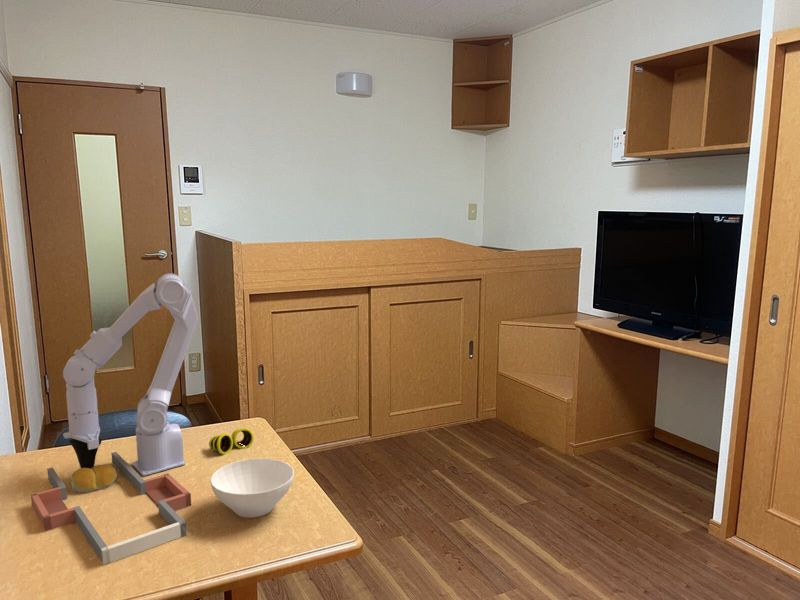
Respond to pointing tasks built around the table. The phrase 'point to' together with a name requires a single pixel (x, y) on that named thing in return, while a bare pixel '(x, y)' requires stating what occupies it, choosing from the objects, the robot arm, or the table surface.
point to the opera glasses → (231, 441)
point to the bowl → (252, 485)
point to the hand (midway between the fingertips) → (87, 469)
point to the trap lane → (57, 515)
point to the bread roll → (92, 478)
